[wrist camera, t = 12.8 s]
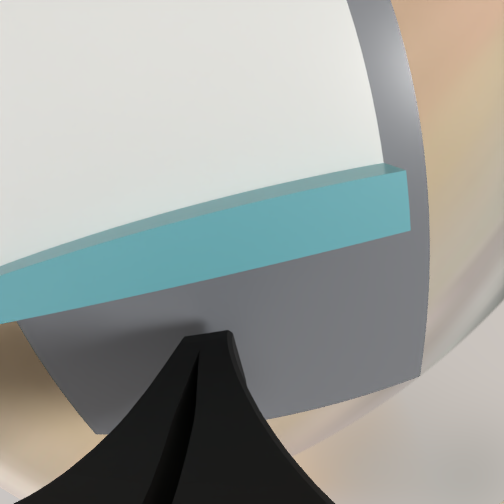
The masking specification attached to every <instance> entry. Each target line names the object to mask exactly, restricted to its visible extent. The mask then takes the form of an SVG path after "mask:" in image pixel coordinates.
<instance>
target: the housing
mask: <svg viewBox="0 0 504 504" xmlns="http://www.w3.org/2000/svg"><path fill="white" fill-rule="evenodd" d="M347 3H348V6H349V10H350V13H351V16H352V19H353V23H354V26H355V29H356V33H357V36H358V40H359V43H360V47H361V51H362V55H363V59H364V63H365V67H366V71H367V75H368V80H369V84H370V88H371V93H372V98H373V103H374V108H375V113H376V118H377V124H378V129H379V135H380V141H381V148H382V154H383V161H384V163H386V164H389V165H392V166H395V167H398V168H401V169H404V170H406V175H407V185H408V196H409V209H410V226H411V231H407V232H403V233H399V234H395V235H391V236H387V237H383V238H379V239H375V240H371V241H367V242H363V243H359V244H355V245H351V246H347V247H343V248H339V249H335V250H331V251H326V252H322V253H318V254H314V255H310V256H306V257H302V258H298V259H293V260H289V261H285V262H281V263H277V264H272V265H268V266H264V267H260V268H255V269H251V270H247V271H243V272H238V273H234V274H230V275H225V276H221V277H217V278H212V279H208V280H204V281H199V282H195V283H190V284H186V285H182V286H177V287H173V288H168V289H164V290H159V291H155V292H150V293H146V294H141V295H137V296H132V297H127V298H123V299H118V300H114V301H109V302H104V303H100V304H95V305H90V306H85V307H81V308H76V309H71V310H66V311H62V312H57V313H52V314H47V315H42V316H37V317H33V318H28V319H23V320H18V321H17V323H18V325H19V326H20V328H21V330H22V332H23V333H24V335H25V337H26V338H27V340H28V342H29V343H30V345H31V347H32V348H33V350H34V352H35V353H36V355H37V356H38V358H39V359H40V361H41V362H42V364H43V365H44V367H45V368H46V370H47V371H48V373H49V374H50V376H51V377H52V379H53V380H54V382H55V383H56V384H57V386H58V387H59V388H60V390H61V391H62V393H63V394H64V395H65V397H66V398H67V399H68V401H69V402H70V403H71V404H72V406H73V407H74V408H75V410H76V411H77V412H78V413H79V415H80V416H81V417H82V418H83V420H84V421H85V422H86V423H87V424H88V426H89V427H90V428H91V429H92V430H93V431H94V433H95V434H109V433H110V432H111V431H112V430H113V429H114V428H115V427H116V426H117V425H118V424H119V423H120V422H121V421H122V419H123V418H124V417H125V416H126V415H127V414H128V412H129V411H130V410H131V409H132V407H133V406H134V405H135V404H136V402H137V401H138V400H139V399H140V398H141V396H142V395H143V394H144V393H145V391H146V390H147V389H148V387H149V386H150V384H151V383H152V382H153V380H154V379H155V377H156V376H157V375H158V373H159V372H160V371H161V369H162V368H163V366H164V365H165V363H166V362H167V360H168V359H169V358H170V356H171V355H172V353H173V352H174V350H175V349H176V347H177V346H178V345H179V343H180V342H181V340H182V339H183V338H184V336H191V335H198V334H205V333H211V332H218V331H224V330H229V331H231V332H232V333H233V335H234V339H235V342H236V346H237V350H238V353H239V357H240V360H241V364H242V368H243V371H244V375H245V378H246V384H247V387H248V389H249V391H250V393H251V395H252V397H253V399H254V401H255V403H256V404H257V406H258V408H259V410H260V411H261V413H262V415H263V417H264V418H265V420H266V419H272V418H277V417H282V416H286V415H291V414H296V413H300V412H304V411H309V410H313V409H317V408H321V407H325V406H329V405H332V404H336V403H340V402H343V401H347V400H350V399H354V398H357V397H361V396H364V395H367V394H370V393H373V392H376V391H380V390H383V389H386V388H388V387H391V386H394V385H397V384H400V383H403V382H405V381H408V380H411V379H414V378H416V377H419V376H420V372H421V365H422V358H423V350H424V341H425V332H426V321H427V308H428V292H429V261H430V236H429V206H428V189H427V177H426V166H425V156H424V148H423V140H422V133H421V126H420V119H419V113H418V107H417V102H416V96H415V91H414V86H413V81H412V77H411V72H410V68H409V63H408V59H407V55H406V51H405V47H404V44H403V40H402V36H401V33H400V29H399V26H398V22H397V19H396V16H395V13H394V10H393V7H392V4H391V1H390V0H347Z"/></svg>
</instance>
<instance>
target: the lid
mask: <svg viewBox="0 0 504 504" xmlns="http://www.w3.org/2000/svg"><path fill="white" fill-rule="evenodd" d="M407 231H411V226H410V209H409V196H408V185H407V175H406V170H404V169H401V168H398V167H395V166H392V165H389V164H386V163H384V161H383V154H382V148H381V141H380V135H379V129H378V124H377V118H376V113H375V108H374V103H373V98H372V93H371V88H370V84H369V80H368V75H367V71H366V67H365V63H364V59H363V55H362V51H361V47H360V43H359V40H358V36H357V33H356V29H355V26H354V23H353V19H352V16H351V13H350V10H349V6H348V3H347V0H0V324H3V323H8V322H13V321H18V320H23V319H28V318H33V317H37V316H42V315H47V314H52V313H57V312H62V311H66V310H71V309H76V308H81V307H85V306H90V305H95V304H100V303H104V302H109V301H114V300H118V299H123V298H127V297H132V296H137V295H141V294H146V293H150V292H155V291H159V290H164V289H168V288H173V287H177V286H182V285H186V284H190V283H195V282H199V281H204V280H208V279H212V278H217V277H221V276H225V275H230V274H234V273H238V272H243V271H247V270H251V269H255V268H260V267H264V266H268V265H272V264H277V263H281V262H285V261H289V260H293V259H298V258H302V257H306V256H310V255H314V254H318V253H322V252H326V251H331V250H335V249H339V248H343V247H347V246H351V245H355V244H359V243H363V242H367V241H371V240H375V239H379V238H383V237H387V236H391V235H395V234H399V233H403V232H407Z"/></svg>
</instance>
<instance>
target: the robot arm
mask: <svg viewBox="0 0 504 504" xmlns="http://www.w3.org/2000/svg"><path fill="white" fill-rule="evenodd" d="M14 504H335V503H334V502H333V501H332V500H331V499H330V498H329V497H328V496H327V495H326V494H325V493H324V492H323V491H322V490H321V489H320V488H319V487H318V486H317V485H316V484H315V483H314V482H313V481H312V480H311V479H310V477H308V475H307V474H306V473H305V472H304V470H303V469H302V468H301V467H300V466H299V465H298V463H296V461H295V460H294V459H293V458H292V456H291V455H290V454H289V453H288V451H287V450H286V449H285V447H284V446H283V445H282V443H281V442H280V440H279V439H278V438H277V436H276V435H275V433H274V432H273V430H272V429H271V427H270V426H269V424H268V423H267V421H266V420H265V418H264V417H263V415H262V413H261V411H260V410H259V408H258V406H257V404H256V403H255V401H254V399H253V397H252V395H251V393H250V391H249V389H248V387H247V384H246V378H245V375H244V371H243V368H242V364H241V360H240V357H239V353H238V350H237V346H236V342H235V339H234V335H233V333H232V332H231V331H229V330H224V331H218V332H211V333H205V334H198V335H191V336H184V338H183V339H182V340H181V342H180V343H179V345H178V346H177V347H176V349H175V350H174V352H173V353H172V355H171V356H170V358H169V359H168V360H167V362H166V363H165V365H164V366H163V368H162V369H161V371H160V372H159V373H158V375H157V376H156V377H155V379H154V380H153V382H152V383H151V384H150V386H149V387H148V389H147V390H146V391H145V393H144V394H143V395H142V396H141V398H140V399H139V400H138V401H137V402H136V404H135V405H134V406H133V407H132V409H131V410H130V411H129V412H128V414H127V415H126V416H125V417H124V418H123V419H122V421H121V422H120V423H119V424H118V425H117V426H116V427H115V428H114V429H113V430H112V431H111V432H110V433H109V434H108V435H107V436H106V437H105V438H104V439H103V440H102V441H101V442H100V443H99V444H98V445H97V446H96V447H95V448H94V449H93V450H91V451H90V452H89V453H88V454H87V455H86V456H84V457H83V458H82V459H81V460H80V461H78V462H77V463H76V464H75V465H74V466H72V467H71V468H70V469H69V470H67V471H66V472H65V473H63V474H62V475H61V476H59V477H58V478H56V479H55V480H54V481H52V482H51V483H49V484H48V485H46V486H44V487H43V488H41V489H40V490H38V491H36V492H35V493H33V494H31V495H30V496H28V497H26V498H24V499H22V500H20V501H18V502H16V503H14Z"/></svg>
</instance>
